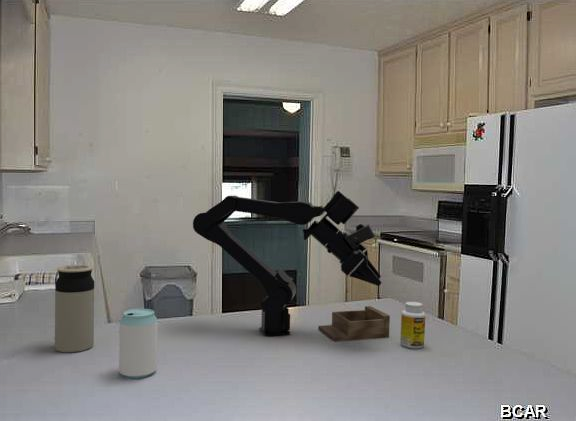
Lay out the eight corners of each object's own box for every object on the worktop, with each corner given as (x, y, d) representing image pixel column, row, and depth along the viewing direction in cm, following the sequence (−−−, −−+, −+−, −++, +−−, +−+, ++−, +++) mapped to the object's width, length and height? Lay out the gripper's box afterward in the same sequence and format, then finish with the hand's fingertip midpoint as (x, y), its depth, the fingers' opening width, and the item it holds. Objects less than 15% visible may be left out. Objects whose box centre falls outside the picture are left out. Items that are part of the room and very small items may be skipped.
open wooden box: (334, 341, 120) (335, 318, 120) (318, 329, 130) (319, 308, 130) (389, 337, 125) (389, 315, 125) (369, 326, 135) (370, 306, 135)
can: (136, 382, 92) (137, 318, 91) (111, 374, 96) (111, 312, 95) (164, 371, 98) (165, 311, 97) (139, 363, 102) (140, 305, 101)
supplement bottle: (412, 350, 115) (414, 307, 115) (395, 344, 120) (396, 302, 119) (429, 347, 118) (430, 304, 118) (411, 340, 123) (413, 299, 122)
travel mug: (101, 345, 113) (102, 266, 112) (72, 355, 105) (73, 271, 105) (75, 340, 116) (76, 263, 115) (46, 349, 109) (47, 268, 108)
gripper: (352, 216, 113) (404, 262, 111) (355, 212, 131) (400, 252, 130) (320, 252, 114) (371, 298, 113) (327, 243, 133) (371, 283, 131)
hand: (379, 280), depth 122 cm, fingers open, 9 cm apart
